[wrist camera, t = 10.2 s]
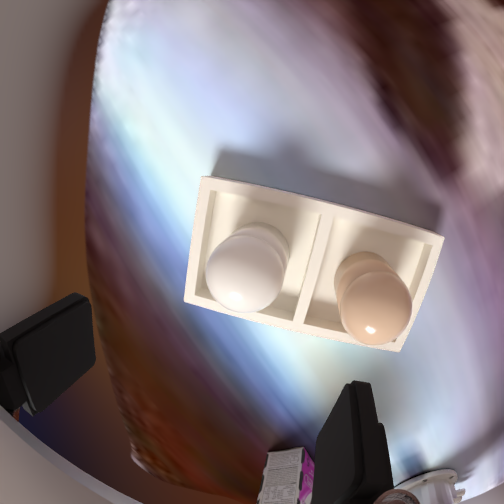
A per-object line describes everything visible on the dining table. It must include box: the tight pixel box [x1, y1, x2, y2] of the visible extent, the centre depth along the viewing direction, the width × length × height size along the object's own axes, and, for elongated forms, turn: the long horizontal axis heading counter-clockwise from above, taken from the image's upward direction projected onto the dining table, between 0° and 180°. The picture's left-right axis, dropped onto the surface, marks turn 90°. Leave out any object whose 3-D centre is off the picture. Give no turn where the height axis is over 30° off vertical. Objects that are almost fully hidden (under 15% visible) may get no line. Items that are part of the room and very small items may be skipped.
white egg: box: [206, 222, 289, 313], centre depth 18 cm, size 5×5×7 cm
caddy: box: [184, 176, 445, 352], centre depth 21 cm, size 18×10×2 cm, turn 79°
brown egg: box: [334, 251, 412, 346], centre depth 17 cm, size 5×5×7 cm
